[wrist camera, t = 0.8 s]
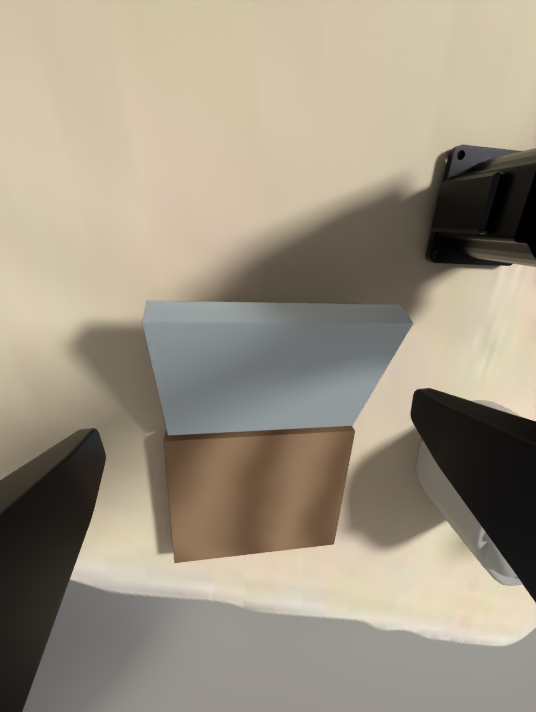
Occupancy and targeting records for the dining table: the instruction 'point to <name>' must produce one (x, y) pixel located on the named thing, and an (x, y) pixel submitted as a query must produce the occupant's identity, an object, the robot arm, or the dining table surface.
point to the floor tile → (268, 362)
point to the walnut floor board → (255, 490)
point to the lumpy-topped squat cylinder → (463, 512)
